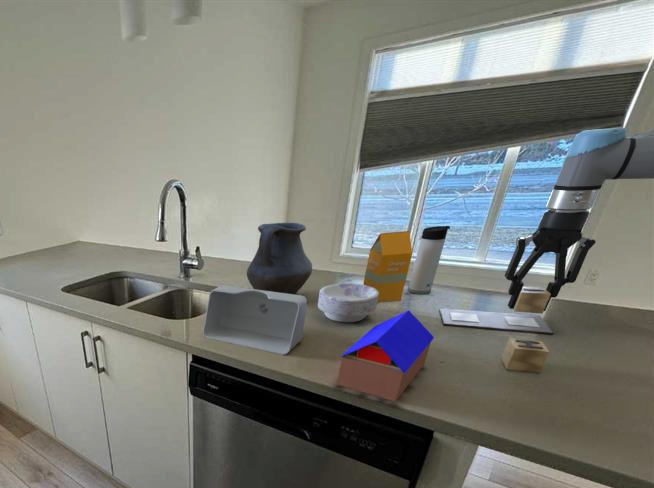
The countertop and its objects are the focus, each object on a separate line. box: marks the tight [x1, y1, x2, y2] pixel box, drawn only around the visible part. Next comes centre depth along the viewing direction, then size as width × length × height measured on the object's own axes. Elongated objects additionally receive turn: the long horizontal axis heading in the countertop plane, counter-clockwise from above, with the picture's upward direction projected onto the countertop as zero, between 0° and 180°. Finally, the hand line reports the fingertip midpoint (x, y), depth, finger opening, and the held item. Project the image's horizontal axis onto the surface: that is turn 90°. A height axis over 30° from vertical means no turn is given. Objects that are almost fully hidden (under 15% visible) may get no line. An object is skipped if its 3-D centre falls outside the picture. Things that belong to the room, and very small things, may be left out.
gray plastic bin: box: [202, 284, 308, 356], centre depth 109 cm, size 25×16×12 cm, turn 51°
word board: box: [438, 307, 554, 336], centre depth 106 cm, size 22×12×1 cm, turn 62°
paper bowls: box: [317, 282, 379, 323], centre depth 115 cm, size 15×15×8 cm
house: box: [336, 310, 435, 402], centre depth 85 cm, size 12×20×12 cm, turn 135°
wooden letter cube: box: [500, 337, 550, 374], centre depth 85 cm, size 5×5×5 cm
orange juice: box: [362, 230, 413, 303], centre depth 123 cm, size 8×9×20 cm
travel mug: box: [407, 225, 451, 295], centre depth 125 cm, size 6×7×20 cm
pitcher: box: [246, 222, 313, 295], centre depth 129 cm, size 21×22×25 cm
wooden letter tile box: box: [512, 285, 551, 315], centre depth 101 cm, size 5×5×5 cm
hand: (525, 308), depth 102 cm, fingers closed on wooden letter tile box, 5 cm apart
